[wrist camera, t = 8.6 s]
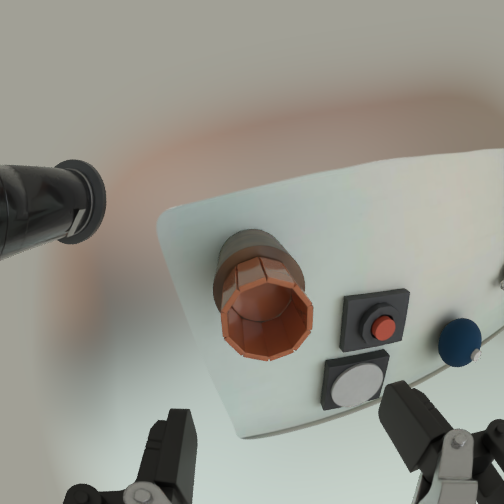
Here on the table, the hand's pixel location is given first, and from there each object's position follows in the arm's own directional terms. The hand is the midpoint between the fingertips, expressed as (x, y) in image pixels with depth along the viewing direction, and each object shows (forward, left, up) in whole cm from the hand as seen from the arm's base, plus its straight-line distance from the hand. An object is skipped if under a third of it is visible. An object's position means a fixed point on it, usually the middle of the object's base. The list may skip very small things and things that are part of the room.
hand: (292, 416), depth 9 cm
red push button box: (+17, -10, -25) cm, 32 cm away
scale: (+15, -20, -25) cm, 35 cm away
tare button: (+17, -10, -22) cm, 29 cm away
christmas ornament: (+34, -16, -25) cm, 45 cm away
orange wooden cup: (0, 0, -15) cm, 15 cm away
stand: (0, 0, -25) cm, 25 cm away
